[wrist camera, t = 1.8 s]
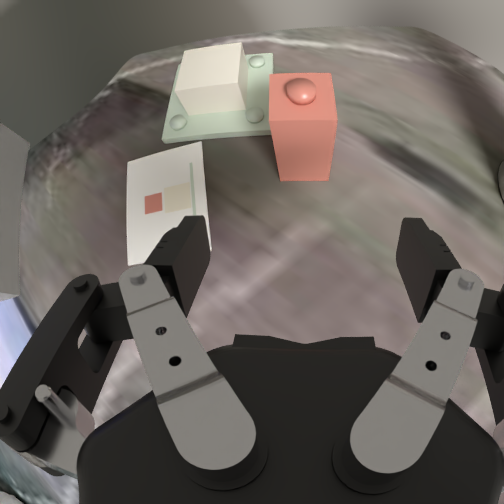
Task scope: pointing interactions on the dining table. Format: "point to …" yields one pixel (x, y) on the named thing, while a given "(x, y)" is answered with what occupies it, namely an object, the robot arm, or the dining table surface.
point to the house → (10, 208)
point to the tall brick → (302, 124)
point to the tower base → (225, 120)
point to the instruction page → (163, 196)
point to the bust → (8, 499)
